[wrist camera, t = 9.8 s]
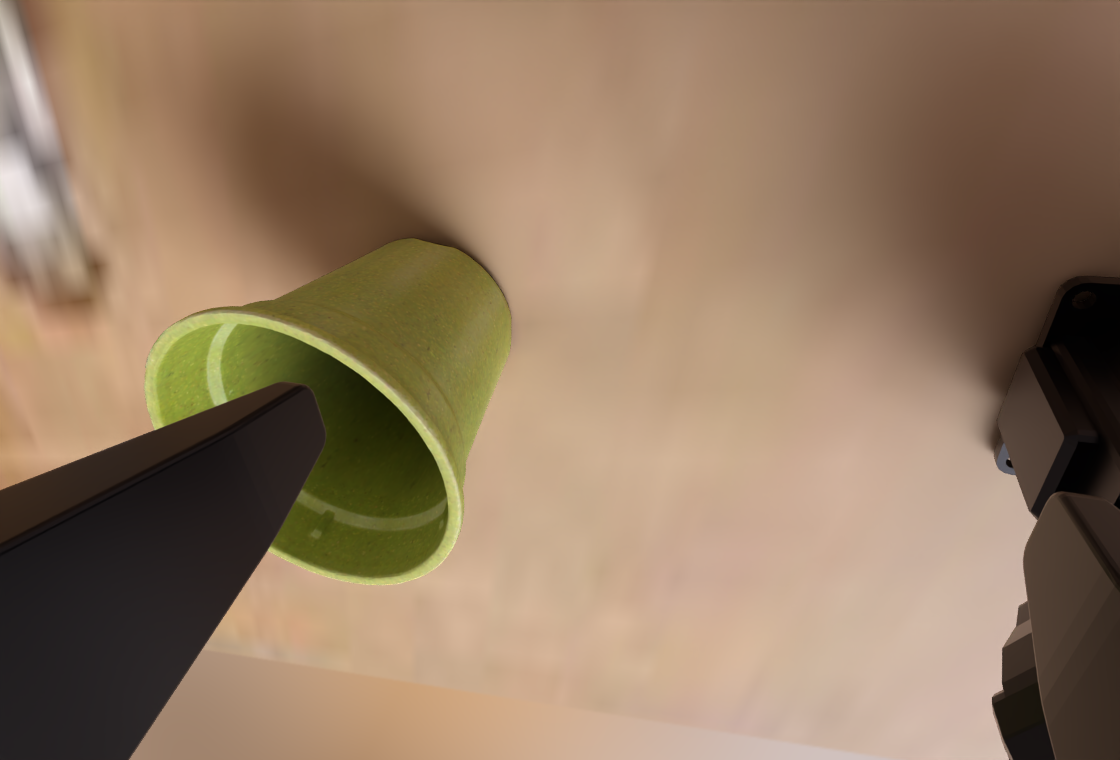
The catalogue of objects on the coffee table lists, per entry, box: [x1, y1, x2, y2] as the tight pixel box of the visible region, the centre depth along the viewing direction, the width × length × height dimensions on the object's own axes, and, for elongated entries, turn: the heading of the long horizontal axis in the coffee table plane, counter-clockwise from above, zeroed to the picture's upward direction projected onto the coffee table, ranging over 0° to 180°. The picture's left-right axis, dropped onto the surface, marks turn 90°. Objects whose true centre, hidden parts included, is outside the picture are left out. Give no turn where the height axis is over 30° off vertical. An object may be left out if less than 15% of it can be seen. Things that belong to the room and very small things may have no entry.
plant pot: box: [144, 238, 511, 585], centre depth 21 cm, size 9×9×9 cm
